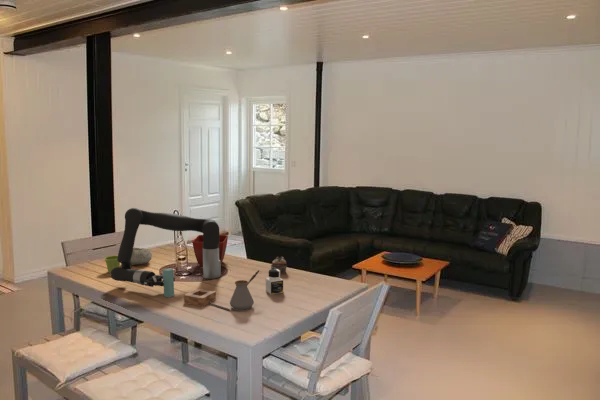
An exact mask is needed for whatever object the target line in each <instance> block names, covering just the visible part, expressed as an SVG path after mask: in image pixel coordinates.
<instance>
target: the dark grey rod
mask: <svg viewBox="0 0 600 400" xmlns="http://www.w3.org/2000/svg"><path fill="white" fill-rule="evenodd" d="M208 305H212V306H214V307H217V308H220V309H223V310H226V311H229V312H230V308H227V307H225V306H222V305H219V304H216V303H213V302H209V303H208Z"/></svg>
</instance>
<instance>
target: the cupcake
mask: <svg viewBox="0 0 600 400" xmlns="http://www.w3.org/2000/svg"><path fill="white" fill-rule="evenodd" d="M287 267H288V264H287V260H286V259H285V258H284V256H280V257H279V256H276V257H275V258H274V260H272V263H271V264H270V270H271V269H278V270H280V276H283V275H285V274H286V271H287Z"/></svg>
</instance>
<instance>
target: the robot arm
mask: <svg viewBox="0 0 600 400" xmlns="http://www.w3.org/2000/svg"><path fill="white" fill-rule="evenodd" d="M124 219H125V221H124V232H123V234H122V235H123V237H122V239H121V242H120V245H119V249H118V253H117V256H118V257H117V261H118V262H120V264H121V265H120V266H119V267H116V268H113V269H112V271H111V273H109V274H110V277H111V279H112V280H114V281H118V282H127V283H128V282H129V283H133V284H138V285H140V286H145V287H146V286H147V287H151V288H154V286H155V287H156V286H158V287H164V282H163V273H160V274H156V273H155V272H154V271H150V270H143V269H134V268H132V265H131V257H132V253H133V248H135V247H134V246H135V241H136V236H137V233H138V230H139V227H140V226H141V225H144V226H152V227H155V228H158V229H162V230H168V231H171V232H172V231H173V232H188V231H189V232H190V231H193V232H197V233H202V235H203V267H202V272H203V273H202V274H203V275H202V276H203V278H204V279H207V280H208V279H209V280H211V279H217V278H220V277H221V276H222V267H221V266H222V263H221V261H220V260H219V235H220V225H219V224H218V223H217V221H215V220H214V219H211V218H195V217H191V216H187V215H182V214H176V213H167V212H166V213H165V212H154V211H153V212H152V211H147V210H144V209H140V208H139V209H138V208H136V207H131V208H129V209H127V210H126V211H125V214H124ZM175 278H176V277H174V282H175Z"/></svg>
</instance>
